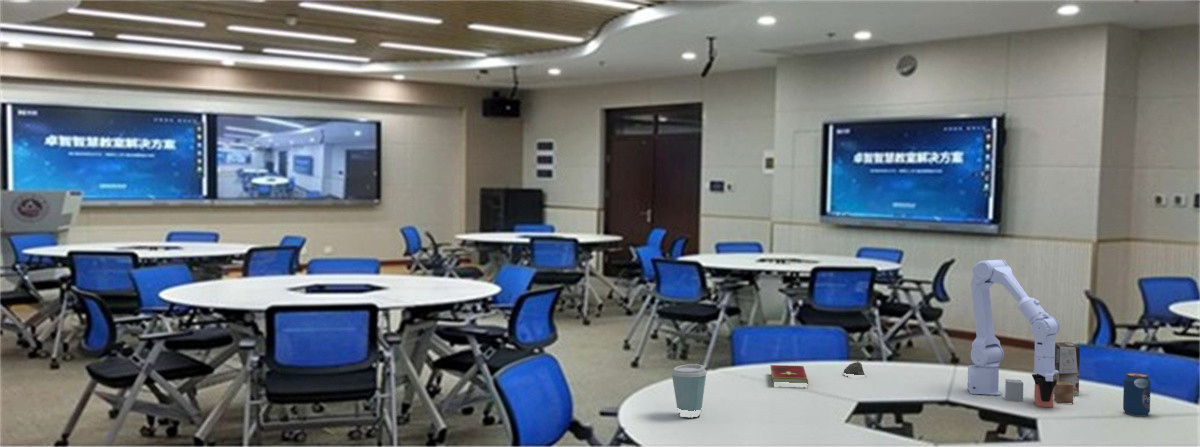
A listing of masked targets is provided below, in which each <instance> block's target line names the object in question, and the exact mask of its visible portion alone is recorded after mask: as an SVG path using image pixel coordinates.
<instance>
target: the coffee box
mask: <svg viewBox="0 0 1200 447" xmlns="http://www.w3.org/2000/svg"><path fill="white" fill-rule="evenodd" d="M1080 356H1081V347H1080V346H1079V345H1077V344H1074V343H1073V342H1068V341H1067V342H1061V341H1060V342H1059V341H1058V342H1056V341H1055V370H1058V371H1059V373H1058V374H1057V373H1056V374H1054V375H1053V380H1056V381H1057V382H1070V383H1071V384H1073V385H1074V387H1073V397H1074V396H1075V397H1079V394H1080V392H1079V391H1080V362H1081V360H1080V359H1081V358H1080Z"/></svg>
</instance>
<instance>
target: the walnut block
mask: <svg viewBox="0 0 1200 447" xmlns="http://www.w3.org/2000/svg"><path fill="white" fill-rule="evenodd" d="M1073 387H1074V385H1073V384H1071V383H1070V382H1057V383H1056V385H1055V386H1054V391H1053V401H1055V402H1056V404H1061V403H1072V404H1071V405H1073V404H1074V396H1073Z"/></svg>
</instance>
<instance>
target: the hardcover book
mask: <svg viewBox="0 0 1200 447" xmlns="http://www.w3.org/2000/svg"><path fill="white" fill-rule="evenodd" d="M770 373H771V380H772V379H773V382H789V383H807V384H808V385H809V379H808V376H807V373H806V370H805V367H804V365H787V364H785V365H783V364H781V365H780V364H779V365H777V364H770ZM773 382H772V383H773Z"/></svg>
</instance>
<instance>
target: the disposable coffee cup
mask: <svg viewBox="0 0 1200 447" xmlns="http://www.w3.org/2000/svg"><path fill="white" fill-rule="evenodd" d="M670 373H671V377H672V378H671V379H672V383H673V384H672V385H673V390H674V395H675V396H674V397H675V402H676V403H675V404H676V408H679V409H681V410H688V411H694V410H695V411H696V410H701V408H702V409H703V401H704V394H705V393H704V392H705V386H706V377H707V375H708V373H707V370H706V366H705V365H704V364H699V363H691V364H690V363H688V364H687V363H686V364H682V365H677V366H675V367H674V368H673V369H672V370H671V372H670ZM701 411H702V410H701Z"/></svg>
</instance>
